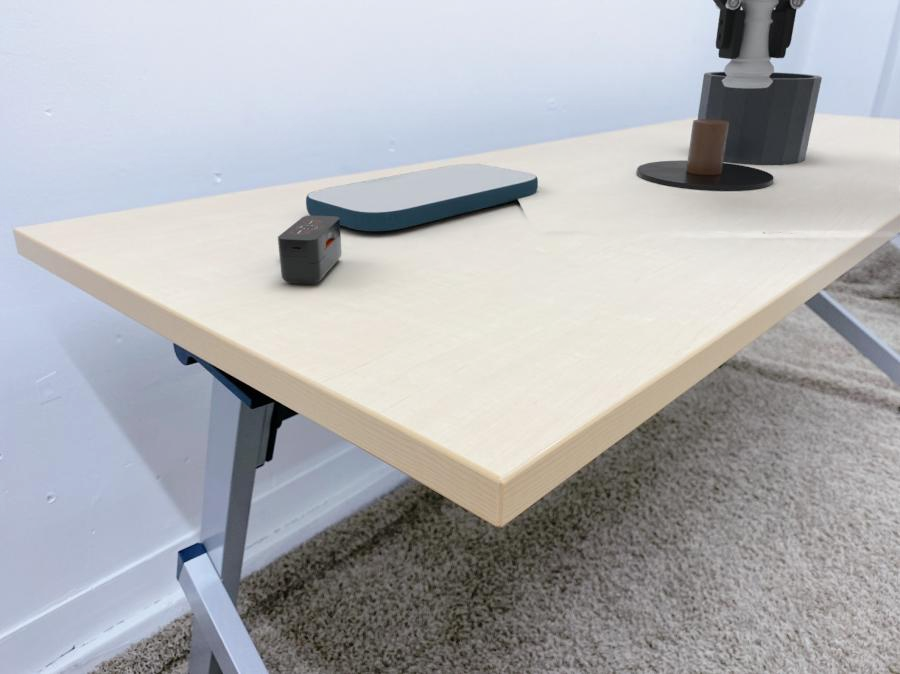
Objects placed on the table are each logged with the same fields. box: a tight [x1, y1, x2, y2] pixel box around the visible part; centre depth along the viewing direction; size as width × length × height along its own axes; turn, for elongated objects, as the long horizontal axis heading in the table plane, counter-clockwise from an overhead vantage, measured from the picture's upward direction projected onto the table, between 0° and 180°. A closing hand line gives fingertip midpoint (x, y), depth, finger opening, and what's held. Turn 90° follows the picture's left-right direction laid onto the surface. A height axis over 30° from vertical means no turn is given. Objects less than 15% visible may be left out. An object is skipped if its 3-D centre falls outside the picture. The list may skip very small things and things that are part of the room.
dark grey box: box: [277, 215, 343, 285], centre depth 50 cm, size 5×7×3 cm, turn 173°
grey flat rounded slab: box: [305, 163, 539, 232], centre depth 69 cm, size 24×12×2 cm, turn 136°
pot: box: [697, 71, 823, 166], centre depth 91 cm, size 14×14×10 cm
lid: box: [636, 119, 775, 192], centre depth 79 cm, size 15×15×7 cm
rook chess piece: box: [722, 0, 779, 88], centre depth 64 cm, size 4×4×8 cm
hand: (751, 55), depth 64 cm, fingers closed on rook chess piece, 3 cm apart
